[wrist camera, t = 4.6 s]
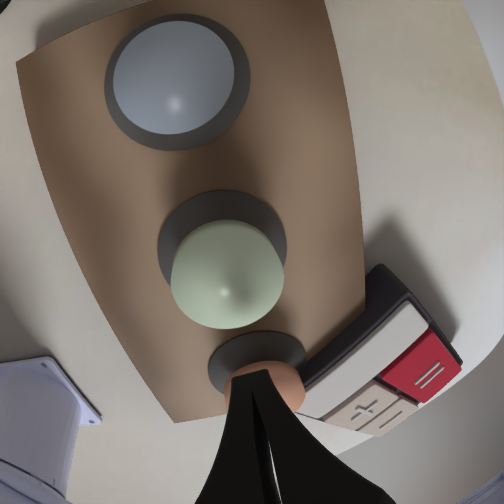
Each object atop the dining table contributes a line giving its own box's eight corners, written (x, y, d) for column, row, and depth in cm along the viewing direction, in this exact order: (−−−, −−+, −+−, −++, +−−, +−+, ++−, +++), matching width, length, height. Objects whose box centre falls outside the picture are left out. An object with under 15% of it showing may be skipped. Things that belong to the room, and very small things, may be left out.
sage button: (191, 322, 14) (191, 339, 13) (158, 236, 12) (154, 249, 11) (284, 297, 14) (291, 313, 13) (266, 207, 12) (272, 217, 11)
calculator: (379, 442, 24) (276, 415, 18) (362, 410, 28) (261, 367, 21) (468, 368, 22) (416, 296, 15) (444, 339, 26) (378, 258, 19)
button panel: (174, 402, 21) (174, 425, 20) (34, 65, 11) (13, 61, 9) (353, 355, 22) (364, 375, 20) (303, -10, 11) (318, -25, 9)
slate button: (136, 146, 12) (129, 149, 10) (111, 49, 10) (103, 43, 8) (241, 116, 12) (246, 116, 11) (218, 18, 10) (220, 9, 9)
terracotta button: (234, 415, 18) (237, 431, 17) (213, 372, 16) (215, 389, 15) (303, 397, 18) (308, 412, 17) (295, 351, 16) (301, 367, 15)
